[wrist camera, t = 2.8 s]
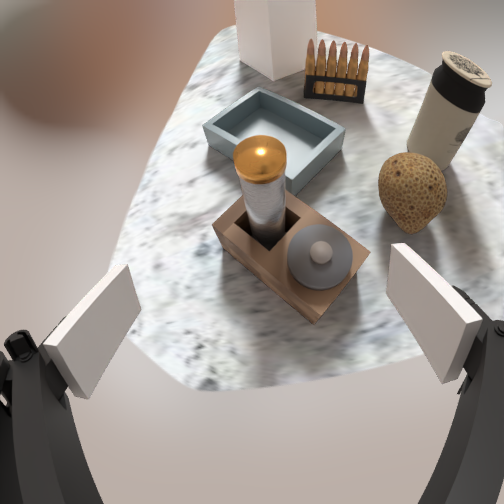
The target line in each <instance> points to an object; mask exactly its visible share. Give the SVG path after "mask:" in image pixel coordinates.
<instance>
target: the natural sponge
mask: <svg viewBox="0 0 504 504" xmlns="http://www.w3.org/2000/svg"><path fill="white" fill-rule="evenodd" d="M378 186H379V196H380V200H381V203H382V205H383V207H384V208H385V210H386V211H387V212H388V214H389V215H390V216H391V217H392V218H393V219H394V221H395V222H396V223H397V225H398V226H399V227H400V228H401V229H402V230H403V231H404V232H406V233H408V234H414V233H417V232H419V231H420V230H422V229H423V228H424V227H425V226H426V225H427V224H428V223H429V222H430V221H431V220H432V219H433V218H434V217H436V216H437V215H438V214H439V213H440V212H441V210H442V209H443V207H444V205H445V202H446V198H447V187H446V182H445V179H444V176H443V173H442V172H441V170H440V169H439V167H438V166H437V165H436V164H435V163H434V162H433V161H432V160H431V159H430V158H428V157H426V156H423V155H421V154H417V153H409V152H405V153H399V154H396V155H394V156H392V157H390V158H389V159H388V160H386V161H385V163H384V164H383V166H382V168H381V171H380V173H379V180H378Z"/></svg>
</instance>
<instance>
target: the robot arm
mask: <svg viewBox="0 0 504 504" xmlns="http://www.w3.org/2000/svg"><path fill="white" fill-rule="evenodd" d="M386 294H387V296H388V297H389V299H390V300H391V302H392V303H393V305H394V306H395V308H396V309H397V311H398V312H399V314H400V315H401V317H402V318H403V320H404V321H405V323H406V325H407V326H408V328H409V329H410V331H411V333H412V334H413V336H414V337H415V339H416V341H417V342H418V344H419V346H420V347H421V349H422V351H423V352H424V354H425V356H426V357H427V359H428V361H429V362H430V364H431V366H432V367H433V369H434V371H435V373H436V375H437V376H438V378H439V380H440V382H441V383H442V384H444V383H447V382H450V381H453V380H456V379H458V377H459V375H460V373H461V371H462V368H463V367H464V369H465V371H466V372H467V376H466V378H465V380H464V382H463V384H462V385H461V388H460V389H459V391H458V393H457V394H460V392H461V395H460V399H459V403H458V406H457V409H456V413H455V417H454V419H453V422H452V426H451V429H450V431H449V434H448V437H447V440H446V443H445V446H444V448H443V450H442V453H441V456H440V458H439V460H438V463H437V465H436V467H435V470H434V472H433V474H432V477H431V479H430V481H429V483H428V485H427V487H426V489H425V491H424V493H423V495H422V497H421V499H420V500H419V502H418V504H496V502H497V499H498V496H499V492H500V489H501V486H502V482H503V479H504V321H501V320H495V321H492V320H491V319H490V318H489V317H488V316H487V315H486V314H485V313H484V311H483V310H482V309H481V308H480V307H479V306H478V305H477V304H475V302H474V301H473V300H472V299H470V297H469V296H468V295H467V294H466V293H465V292H464V291H463V290H461V289H459V288H457V287H455V286H451V285H450V284H449V283H448V282H446V281H445V280H444V279H443V278H442V277H441V276H440V275H439V274H438V273H437V272H436V271H435V270H434V269H433V268H432V267H431V266H430V265H429V264H427V263H426V262H425V261H424V260H423V259H422V258H421V257H420V256H419V255H418V254H416V253H415V252H414V251H413V250H412V249H411V248H410V247H409V246H407V245H406V244H405V243H398V244H391V253H390V263H389V272H388V280H387V288H386ZM140 311H141V307H140V304H139V301H138V297H137V294H136V291H135V288H134V284H133V281H132V278H131V274H130V271H129V267H128V264H124V265H115V266H114V267H113V268H112V269H111V270H110V271H109V272H108V273H107V274H106V275H105V276H104V277H103V278H102V279H101V280H100V281H99V282H98V283H97V284H96V285H95V286H94V287H93V289H92V290H91V291H90V292H89V293H88V294H87V295H86V296H85V297H84V298H83V299H82V300H81V301H80V302H79V303H78V305H76V307H75V308H74V309H73V310H72V311H71V312H70V313H69V314H68V315H67V316H66V317H64V318H63V319H62V321H60V323H59V324H58V326H56V327H55V328H54V329H53V331H52V332H51V333H50V334H49V335H48V336H47V338H46V339H45V340H44V341H43V342H42V343H41V345H40V346H39V347H38V348H37V346H36V344H35V342H34V341H33V339H32V337H31V335H30V333H29V331H27V330H20V331H17V332H15V333H13V334H11V335H10V336H9V337H8V338H7V339H6V340H5V343H4V346H5V348H6V349H7V351H8V353H9V354H10V356H11V358H12V360H9V361H8V360H7V358H6V357H5V355H4V353H3V352H1V351H0V394H2V396H3V397H4V398H5V399H6V401H7V405H6V406H5V405H4V404H3V403H2V402H1V400H0V504H104V503H103V501H102V499H101V497H100V495H99V493H98V490H97V488H96V485H95V483H94V480H93V478H92V475H91V473H90V470H89V467H88V465H87V462H86V459H85V456H84V453H83V450H82V447H81V444H80V441H79V437H78V434H77V430H76V427H75V423H74V419H73V415H72V412H71V407H70V403H69V398H68V396H67V395H66V393H65V390H66V389H67V387H69V388H70V390H71V391H72V393H73V394H74V396H76V397H80V398H84V399H89V398H90V396H91V395H92V393H93V391H94V389H95V387H96V385H97V384H98V382H99V380H100V378H101V376H102V374H103V373H104V371H105V369H106V368H107V366H108V364H109V363H110V360H111V359H112V357H113V356H114V354H115V352H116V350H117V349H118V347H119V345H120V343H121V342H122V340H123V339H124V337H125V335H126V334H127V332H128V331H129V329H130V327H131V326H132V324H133V322H134V321H135V319H136V318H137V316H138V314H139V313H140Z"/></svg>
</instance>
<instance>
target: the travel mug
mask: <svg viewBox="0 0 504 504" xmlns="http://www.w3.org/2000/svg"><path fill="white" fill-rule="evenodd" d="M442 58H443V61H442V65H441V66H439V67H438V68H436V69H435V71H434V73H433V76H432V79H431V82H430V85H429V87H428V90H427V93H426V96H425V98H424V101H423V103H422V106H421V109H420V111H419V114H418V116H417V119H416V121H415V123H414V126H413V128H412V131H411V133H410V135H409V138H408V140H407V148H408V150H409V152H410V153H417V154H421V155H423V156H426V157H428V158H430V159H431V160H432V161H433V162H434V163H435V164H436V165H437V166H438V167H439V169H440V170H441V171H443V170H445V169H446V168H447V167H448V165H449V164H450V162H451V161H452V159H453V157H454V156H455V154H456V153H457V151H458V149H459V148H460V146H461V144H462V143H463V141H464V139H465V138H466V136H467V134H468V133H469V131H470V129H471V127H472V126H473V124H474V122H475V120H476V119H477V117H478V115H479V113H480V111H481V109H482V107H483V106H484V104H485V91H486V89H487V88H489V87H491V85H492V82H491V79H490V78H489V76H488V75H487V74H486V73H485V72H484V71H483V70H482V69H481V68H480V67H479V66H478V65H476V64H475V63H474V62H472V61H471V60H469V59H467V58H465V57H464V56H461V55H459V54H457V53H454V52H449V51H445V52H443V53H442Z"/></svg>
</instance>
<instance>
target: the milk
mask: <svg viewBox="0 0 504 504" xmlns="http://www.w3.org/2000/svg"><path fill="white" fill-rule="evenodd" d="M234 6H235V16H236V27H237V37H238V47H239V58H240V61H241V62H243V63H245V64H247V65H248V66H250V67H252V68H253V69H255V70H256V71H258V72H260V73H261V74H263V75H264V76H266V77H268V78H269V79H271V80H272V81H275V80H278V79H280V78H283V77H286V76H288V75H291V74H294V73H296V72H299V71H302V70H305V61H306V57H307V47H308V43H309V40H310V39H312V40H313V43H314V49H315V61H317V57H318V51H317V24H316V5H315V0H234ZM315 66H316V63H315Z"/></svg>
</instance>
